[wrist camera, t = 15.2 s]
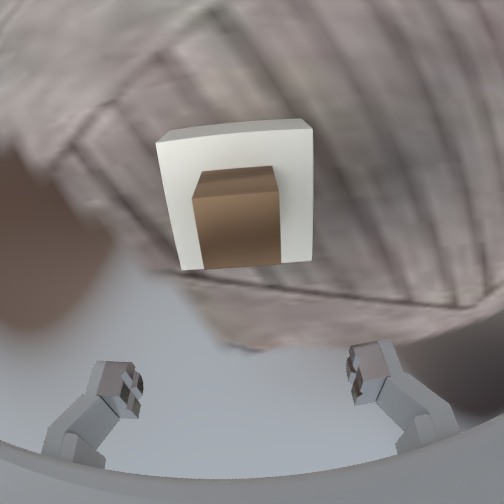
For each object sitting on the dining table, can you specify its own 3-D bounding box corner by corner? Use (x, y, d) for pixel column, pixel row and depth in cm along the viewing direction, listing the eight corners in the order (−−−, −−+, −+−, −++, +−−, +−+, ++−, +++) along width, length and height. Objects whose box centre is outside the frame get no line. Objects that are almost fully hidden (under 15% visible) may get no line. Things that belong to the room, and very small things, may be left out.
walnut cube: (201, 171, 22) (191, 198, 18) (271, 165, 22) (279, 191, 18) (210, 232, 25) (204, 269, 21) (274, 227, 25) (281, 264, 21)
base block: (170, 129, 25) (155, 143, 21) (300, 117, 25) (312, 128, 21) (189, 240, 31) (181, 270, 27) (302, 231, 31) (311, 260, 27)
